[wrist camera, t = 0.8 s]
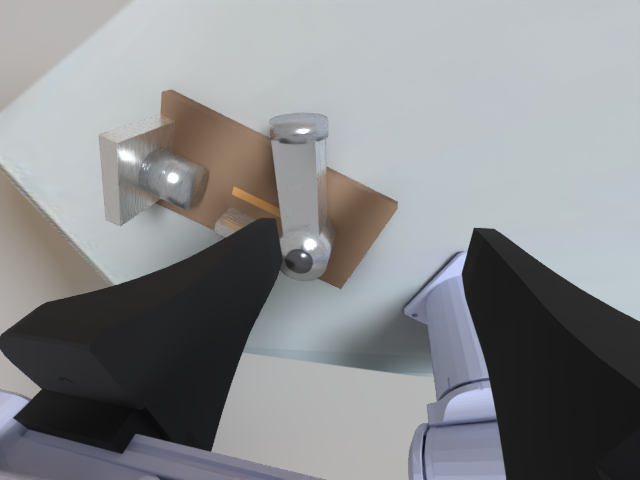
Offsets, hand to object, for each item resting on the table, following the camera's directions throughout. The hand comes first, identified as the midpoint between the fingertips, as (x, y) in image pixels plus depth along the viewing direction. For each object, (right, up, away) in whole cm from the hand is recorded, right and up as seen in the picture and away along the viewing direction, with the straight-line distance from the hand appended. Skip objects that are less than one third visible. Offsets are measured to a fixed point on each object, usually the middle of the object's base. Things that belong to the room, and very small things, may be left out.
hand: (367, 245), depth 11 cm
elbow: (-2, +4, +9) cm, 10 cm away
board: (-6, +3, +11) cm, 13 cm away
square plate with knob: (-9, +4, +10) cm, 15 cm away
